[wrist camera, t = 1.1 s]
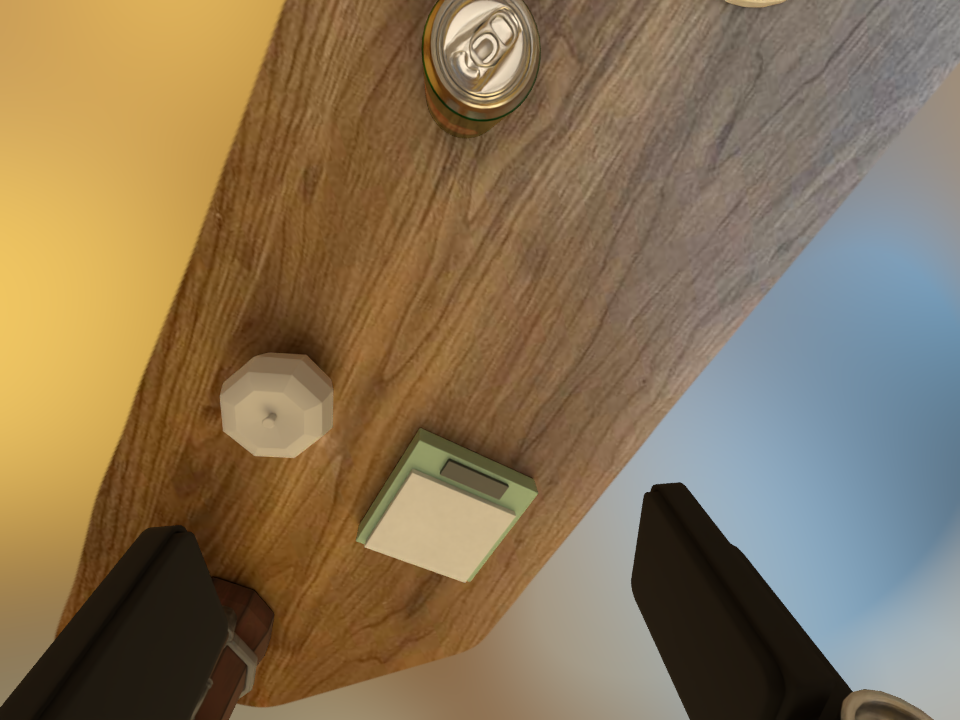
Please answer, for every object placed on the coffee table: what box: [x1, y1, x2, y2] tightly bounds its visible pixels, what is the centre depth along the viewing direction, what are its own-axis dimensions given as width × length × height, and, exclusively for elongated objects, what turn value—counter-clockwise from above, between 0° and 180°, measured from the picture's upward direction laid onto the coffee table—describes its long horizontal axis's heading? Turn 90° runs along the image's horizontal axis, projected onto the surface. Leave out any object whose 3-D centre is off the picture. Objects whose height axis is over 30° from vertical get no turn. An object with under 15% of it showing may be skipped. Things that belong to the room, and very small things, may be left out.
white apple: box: [220, 352, 333, 458], centre depth 32 cm, size 8×8×7 cm
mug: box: [190, 578, 274, 720], centre depth 37 cm, size 16×12×15 cm
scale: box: [356, 428, 538, 583], centre depth 40 cm, size 12×12×3 cm
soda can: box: [422, 0, 541, 138], centre depth 23 cm, size 5×5×12 cm
